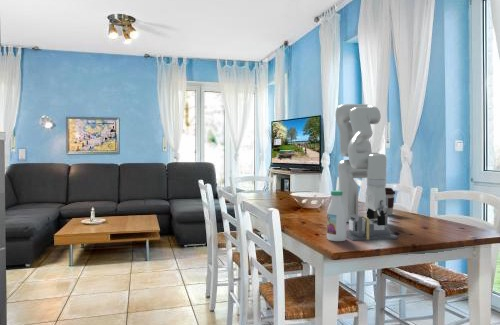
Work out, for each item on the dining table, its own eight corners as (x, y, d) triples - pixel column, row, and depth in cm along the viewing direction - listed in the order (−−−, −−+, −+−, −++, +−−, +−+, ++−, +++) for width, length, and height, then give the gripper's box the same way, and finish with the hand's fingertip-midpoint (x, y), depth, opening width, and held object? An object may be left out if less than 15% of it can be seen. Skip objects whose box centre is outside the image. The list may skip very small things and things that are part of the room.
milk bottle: (343, 237, 155) (343, 189, 154) (348, 241, 147) (348, 191, 147) (324, 237, 155) (325, 190, 154) (329, 242, 147) (329, 192, 146)
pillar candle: (365, 224, 181) (366, 194, 181) (369, 220, 190) (369, 192, 189) (386, 226, 177) (387, 195, 176) (389, 222, 186) (389, 193, 185)
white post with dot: (348, 228, 157) (348, 219, 157) (379, 227, 159) (379, 218, 159) (352, 230, 153) (352, 220, 153) (384, 229, 155) (384, 219, 155)
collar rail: (341, 233, 161) (341, 212, 161) (383, 232, 164) (383, 211, 163) (352, 240, 149) (352, 218, 149) (397, 238, 152) (398, 216, 151)
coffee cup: (372, 213, 212) (372, 187, 211) (385, 212, 216) (385, 186, 216) (385, 216, 203) (385, 189, 202) (398, 215, 207) (399, 188, 207)
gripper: (359, 180, 164) (358, 218, 166) (377, 185, 147) (376, 227, 149) (375, 180, 165) (374, 218, 167) (395, 185, 148) (394, 227, 150)
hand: (375, 222), depth 158 cm, fingers open, 9 cm apart
